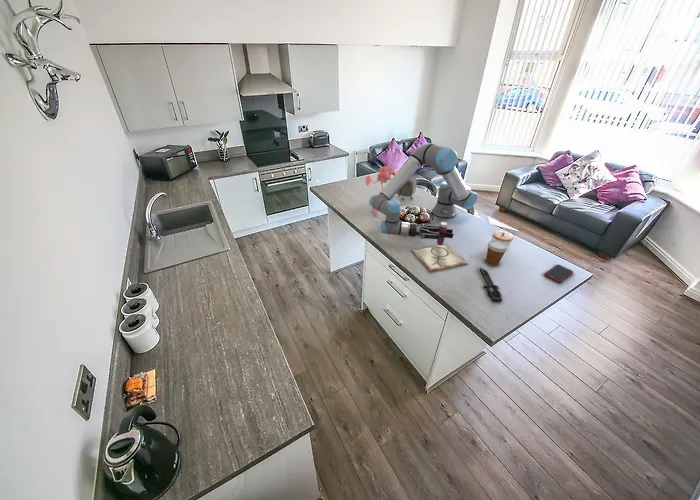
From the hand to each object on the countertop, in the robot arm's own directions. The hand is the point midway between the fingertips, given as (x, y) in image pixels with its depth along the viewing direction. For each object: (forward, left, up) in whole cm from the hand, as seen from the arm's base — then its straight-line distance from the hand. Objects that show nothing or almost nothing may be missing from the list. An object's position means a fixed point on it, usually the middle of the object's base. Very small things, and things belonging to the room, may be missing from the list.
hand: (452, 233), depth 157 cm
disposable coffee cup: (-18, +15, -13) cm, 27 cm away
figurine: (+16, -56, -13) cm, 60 cm away
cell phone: (-43, +34, -13) cm, 56 cm away
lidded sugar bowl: (-33, +3, -13) cm, 35 cm away
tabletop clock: (-10, -76, -13) cm, 78 cm away
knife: (-4, +29, -13) cm, 32 cm away
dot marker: (+5, -3, -7) cm, 9 cm away
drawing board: (+7, +2, -13) cm, 15 cm away
